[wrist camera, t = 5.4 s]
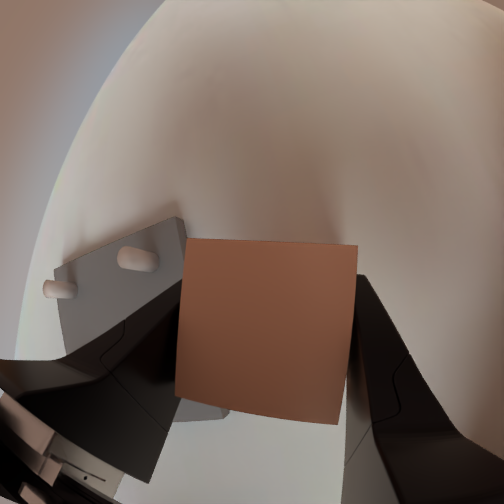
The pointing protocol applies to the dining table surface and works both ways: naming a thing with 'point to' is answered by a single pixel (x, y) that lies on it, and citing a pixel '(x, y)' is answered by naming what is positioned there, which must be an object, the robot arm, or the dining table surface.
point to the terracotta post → (266, 327)
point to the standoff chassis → (122, 291)
